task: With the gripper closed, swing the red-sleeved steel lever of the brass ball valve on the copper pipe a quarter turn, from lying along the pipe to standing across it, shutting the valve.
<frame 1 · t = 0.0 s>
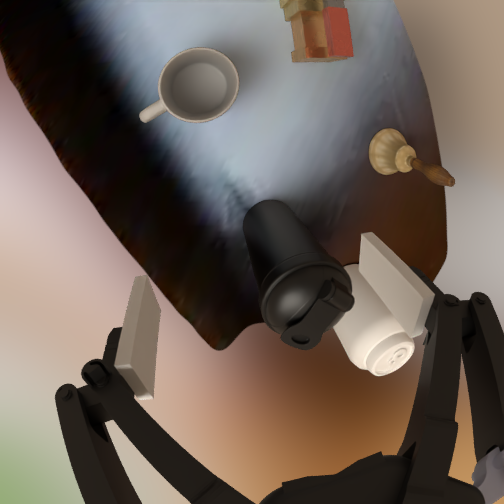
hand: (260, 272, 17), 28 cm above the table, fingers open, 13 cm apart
lever: (329, 2, 24), point 9 cm above the table, hinge at 0.0°
water bottle: (268, 224, 47), on the table
hand bell: (387, 151, 44), on the table
white lidded jar: (346, 287, 57), on the table
mug: (188, 94, 35), on the table
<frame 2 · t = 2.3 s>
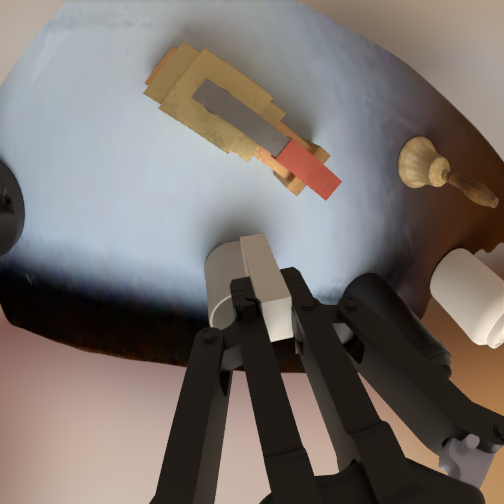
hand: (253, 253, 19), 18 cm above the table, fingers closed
lever: (268, 137, 25), point 9 cm above the table, hinge at 0.0°
valve: (212, 100, 30), on the table
water bottle: (363, 292, 49), on the table
hand bell: (416, 161, 38), on the table
white lidded jar: (448, 271, 52), on the table
mug: (231, 276, 42), on the table
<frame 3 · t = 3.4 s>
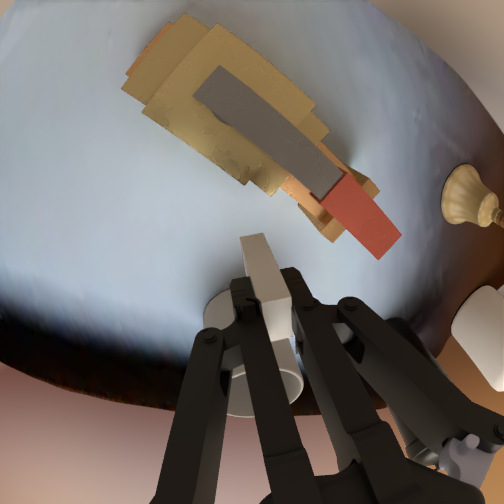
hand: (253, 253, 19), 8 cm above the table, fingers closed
lever: (308, 166, 17), point 9 cm above the table, hinge at 0.0°
valve: (222, 102, 22), on the table
water bottle: (383, 337, 41), on the table
hand bell: (459, 193, 30), on the table
white lidded jar: (471, 309, 44), on the table
mug: (235, 325, 34), on the table
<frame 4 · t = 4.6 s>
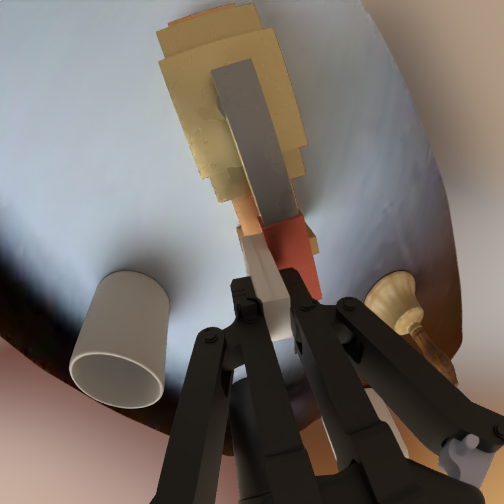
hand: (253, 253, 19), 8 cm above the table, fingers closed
lever: (269, 192, 17), point 9 cm above the table, hinge at 0.6°, touching gripper
valve: (227, 100, 22), on the table
water bottle: (254, 390, 42), on the table
hand bell: (389, 295, 36), on the table
white lidded jar: (349, 403, 50), on the table
mug: (123, 308, 30), on the table
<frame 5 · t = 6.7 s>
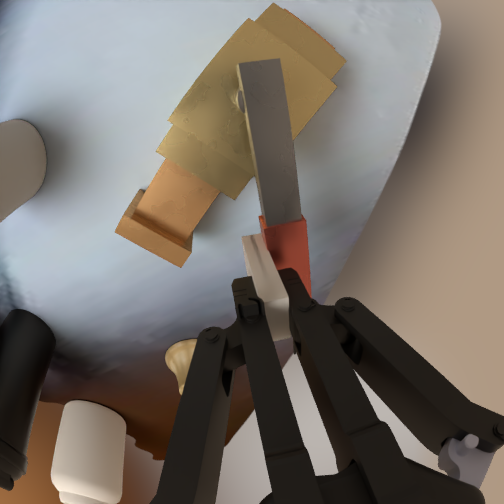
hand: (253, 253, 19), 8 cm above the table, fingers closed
lever: (275, 193, 17), point 9 cm above the table, hinge at 46.5°, touching gripper
valve: (242, 97, 22), on the table
water bottle: (31, 331, 31), on the table
hand bell: (196, 358, 36), on the table
white lidded jar: (95, 414, 42), on the table
mug: (4, 158, 20), on the table
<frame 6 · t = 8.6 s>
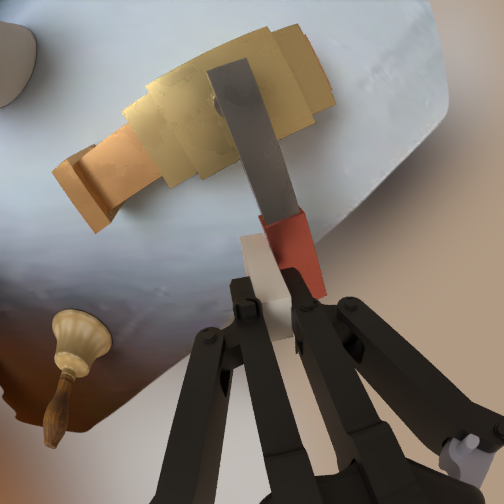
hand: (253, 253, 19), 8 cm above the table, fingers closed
lever: (270, 190, 17), point 9 cm above the table, hinge at 83.0°
valve: (224, 100, 22), on the table
hand bell: (82, 332, 31), on the table
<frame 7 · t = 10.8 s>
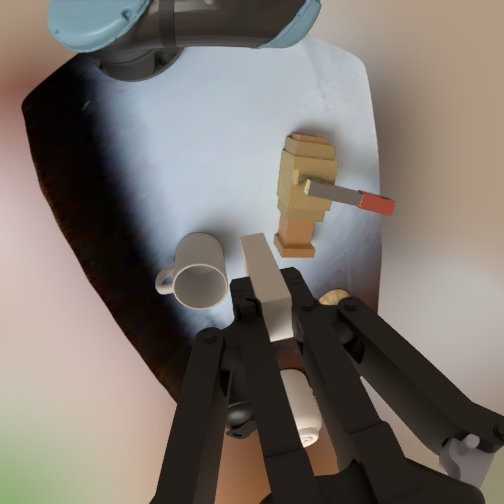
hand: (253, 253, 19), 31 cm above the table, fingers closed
lever: (349, 195, 43), point 9 cm above the table, hinge at 83.0°
valve: (298, 174, 49), on the table
water bottle: (232, 341, 65), on the table
hand bell: (332, 303, 64), on the table
white lidded jar: (282, 381, 75), on the table
mug: (190, 255, 53), on the table
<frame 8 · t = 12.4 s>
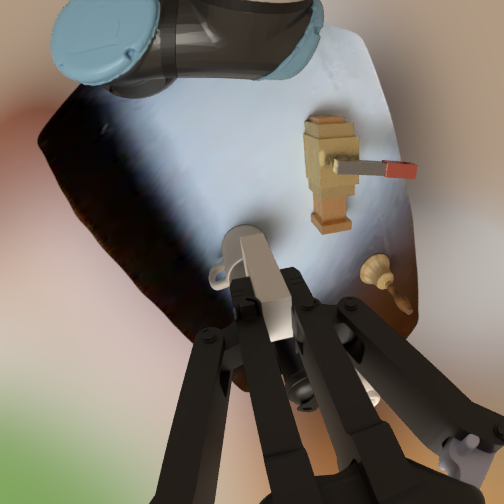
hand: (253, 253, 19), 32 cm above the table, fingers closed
lever: (375, 166, 43), point 9 cm above the table, hinge at 83.0°
valve: (323, 153, 49), on the table
water bottle: (287, 321, 68), on the table
hand bell: (374, 268, 65), on the table
white lidded jar: (338, 350, 78), on the table
mug: (235, 248, 56), on the table
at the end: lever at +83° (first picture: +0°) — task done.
